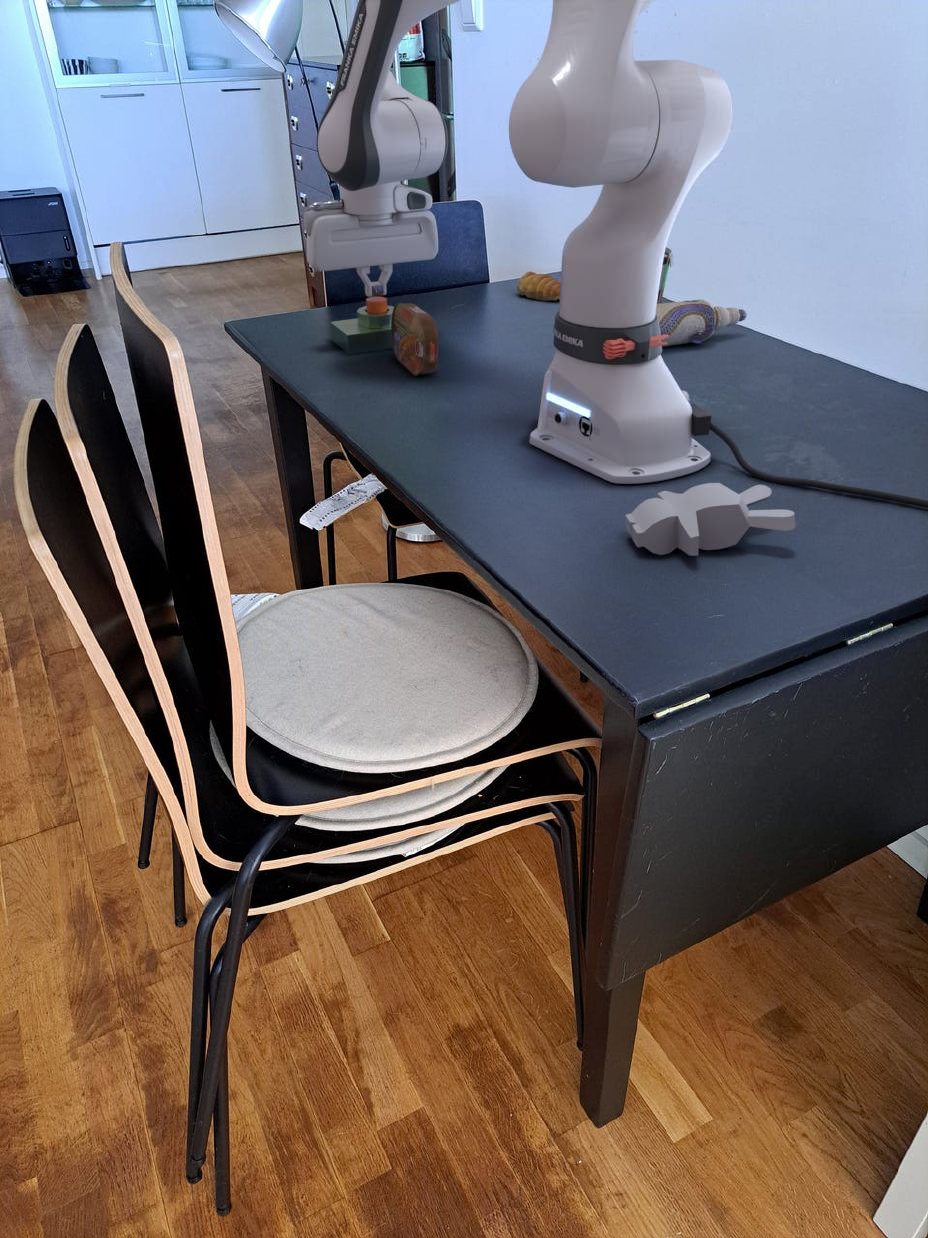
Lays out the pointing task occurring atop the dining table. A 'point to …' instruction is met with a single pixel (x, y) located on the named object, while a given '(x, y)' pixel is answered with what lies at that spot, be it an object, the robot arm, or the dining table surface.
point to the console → (364, 331)
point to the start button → (376, 305)
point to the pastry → (539, 286)
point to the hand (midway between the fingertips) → (376, 294)
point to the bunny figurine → (702, 518)
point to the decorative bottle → (694, 320)
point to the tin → (414, 338)
